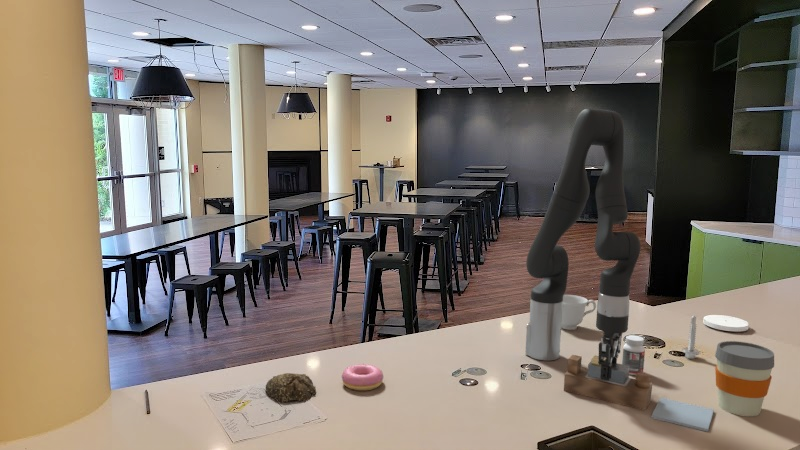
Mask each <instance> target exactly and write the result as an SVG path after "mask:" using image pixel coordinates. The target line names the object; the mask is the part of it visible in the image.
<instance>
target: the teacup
mask: <svg viewBox="0 0 800 450" xmlns="http://www.w3.org/2000/svg"><path fill="white" fill-rule="evenodd" d="M590 304H592V307H591V308H590V309H589V310H587V311H585V310H586V307H589V305H590ZM596 309H597V303H596V301H595V300H594V299H589V300H588V299H587V298H586V297H583V296H580V295H575V294H564V295H563V305H562V322H561V329H563V330H569V331H570V330H571V331H574V330H577V328H578V325H580V324H581V323H582V322H583V321H584V317H585V316H586V315H588V314H591V313H594V311H595V310H596Z"/></svg>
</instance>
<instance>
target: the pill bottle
mask: <svg viewBox="0 0 800 450" xmlns="http://www.w3.org/2000/svg"><path fill="white" fill-rule="evenodd" d="M625 342H626V343H625V344H624V345H623V346H622V347H623V348H622V357H621V358H622V359H621V360H622V361H621V364H623V365H627V366H630V368H629V376H636V374H637V373H644V370H645V369H644V368H645V367H644V366H645V355H646V348H645V346H644V345H643V344H644V343H645V338H643V337H642V336H640V335H639V336H638V335H626V337H625Z"/></svg>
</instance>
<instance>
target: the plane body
mask: <svg viewBox="0 0 800 450" xmlns="http://www.w3.org/2000/svg"><path fill="white" fill-rule="evenodd" d="M587 375H588V367H587V368H585V367H582V356H580V355H576V354H571V356H570V357H569V358H568V359H567V371H566V372H565V373H564V380H563V381H564V382H563V391H565V392H568V393H572V394H578V395H581V396H586V397H589V398H594V399H598V400H600V401H601V400H602V401H606V402H609V403H613V404H619V405H623V406H627V407H631V408H635V409H638V410H642V411H646V409H648V406H649V404H650V403H651V400H652V391H653V390H652V389H653V382H650V381H651V375H650V374H649V373H646V372H643V373H637V374H636V375H635V378H633V377H629V378H628V380H627V381H626V383H625V384H619V383H615V382H610V381H606V380H601V379H597V378H592V377H588V376H587Z"/></svg>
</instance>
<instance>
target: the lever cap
mask: <svg viewBox="0 0 800 450" xmlns="http://www.w3.org/2000/svg"><path fill="white" fill-rule="evenodd" d="M604 360H605V361H607V358H605V357H604ZM598 361H599V355H596V354H595V355H594V356H593V357H592V358H591V359H590V362H588V365H587V369H588V375H587V376H588V377H592V378H597V379H601V378H600V376H601V365H599V363H598ZM629 368H630V366H627V365H623V364H622V363H618V362H617V363H613V362H612V365H611V373H610V379H609V380H608V381H610V382H615V383H619V384H625V383H626V381H627V380H628V378H630V375H629ZM601 380H603V379H601ZM606 381H607V380H606Z"/></svg>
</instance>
